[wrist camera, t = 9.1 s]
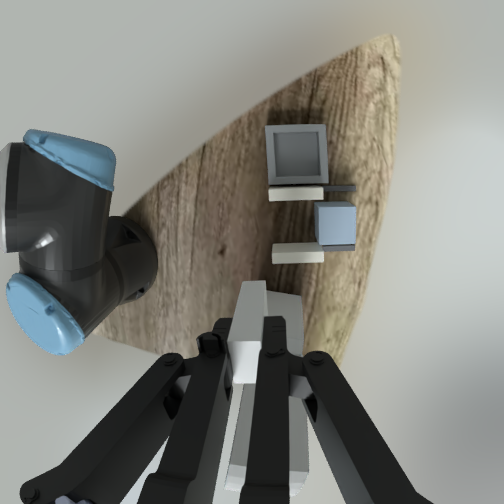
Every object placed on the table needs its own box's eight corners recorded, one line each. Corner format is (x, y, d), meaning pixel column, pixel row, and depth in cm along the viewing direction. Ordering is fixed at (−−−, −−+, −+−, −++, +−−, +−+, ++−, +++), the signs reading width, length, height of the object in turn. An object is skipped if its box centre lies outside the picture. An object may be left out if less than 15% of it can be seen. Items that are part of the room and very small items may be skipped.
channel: (273, 253, 42) (272, 263, 38) (269, 186, 39) (268, 189, 35) (319, 251, 42) (323, 262, 37) (318, 185, 39) (323, 187, 34)
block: (314, 235, 41) (319, 245, 36) (314, 201, 40) (318, 207, 35) (347, 234, 41) (355, 243, 36) (347, 201, 39) (356, 206, 34)
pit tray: (269, 183, 39) (268, 184, 37) (266, 128, 37) (264, 125, 34) (325, 181, 38) (328, 183, 36) (322, 126, 36) (325, 124, 33)
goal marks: (322, 251, 42) (322, 251, 41) (321, 185, 39) (322, 185, 38) (354, 249, 41) (354, 250, 41) (355, 185, 38) (355, 185, 38)
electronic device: (286, 352, 48) (282, 509, 20) (245, 346, 48) (213, 500, 20) (302, 292, 44) (320, 464, 16) (256, 285, 44) (220, 454, 16)
